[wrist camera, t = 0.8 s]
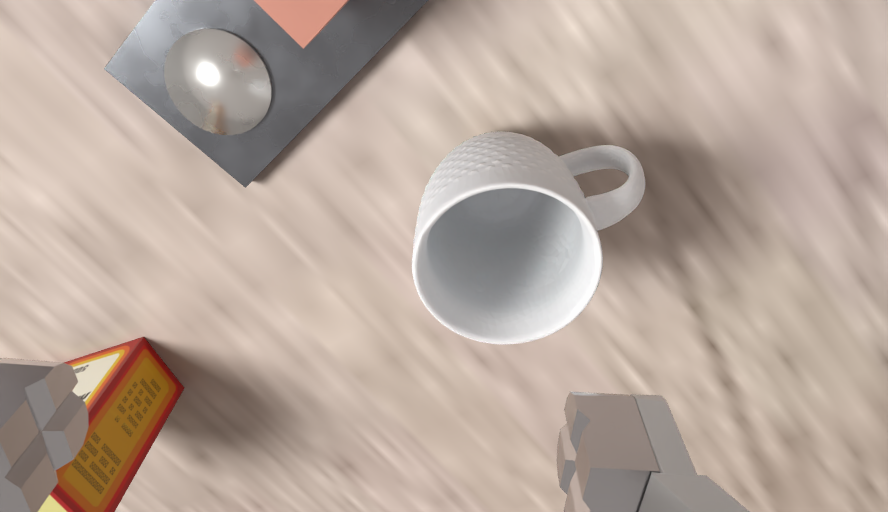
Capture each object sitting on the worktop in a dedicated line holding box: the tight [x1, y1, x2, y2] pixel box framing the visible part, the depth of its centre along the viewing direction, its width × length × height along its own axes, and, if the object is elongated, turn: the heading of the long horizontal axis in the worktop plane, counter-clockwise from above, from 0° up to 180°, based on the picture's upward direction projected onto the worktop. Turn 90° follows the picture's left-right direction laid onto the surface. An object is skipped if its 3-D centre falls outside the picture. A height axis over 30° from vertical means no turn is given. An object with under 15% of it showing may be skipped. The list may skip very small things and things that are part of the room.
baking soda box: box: [38, 337, 184, 512], centre depth 51 cm, size 10×6×16 cm
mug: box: [412, 131, 645, 344], centre depth 40 cm, size 15×11×13 cm
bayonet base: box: [104, 0, 428, 188], centre depth 38 cm, size 22×12×7 cm, turn 134°
